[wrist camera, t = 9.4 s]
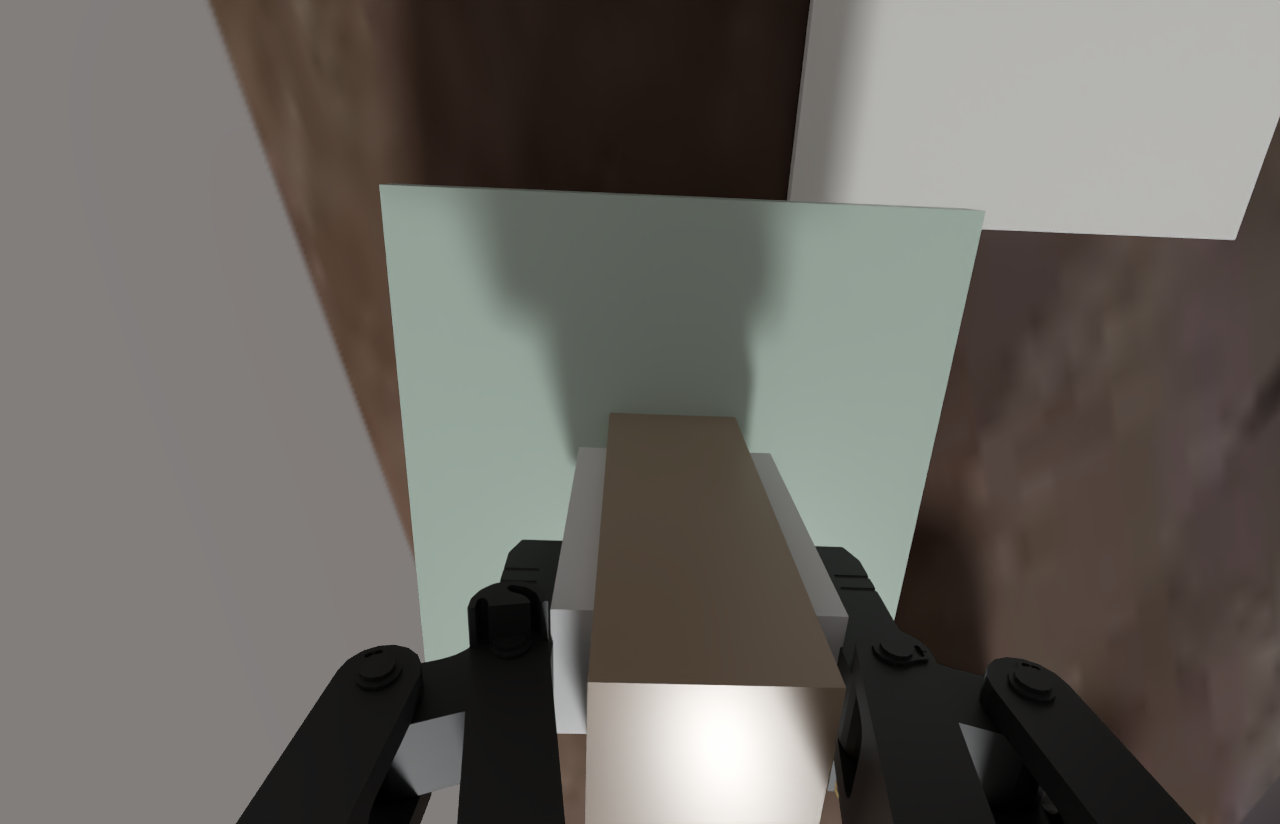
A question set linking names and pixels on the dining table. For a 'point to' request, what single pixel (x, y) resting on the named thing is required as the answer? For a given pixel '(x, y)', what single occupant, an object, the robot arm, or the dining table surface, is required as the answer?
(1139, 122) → the mat
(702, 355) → the lid
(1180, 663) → the dining table surface
